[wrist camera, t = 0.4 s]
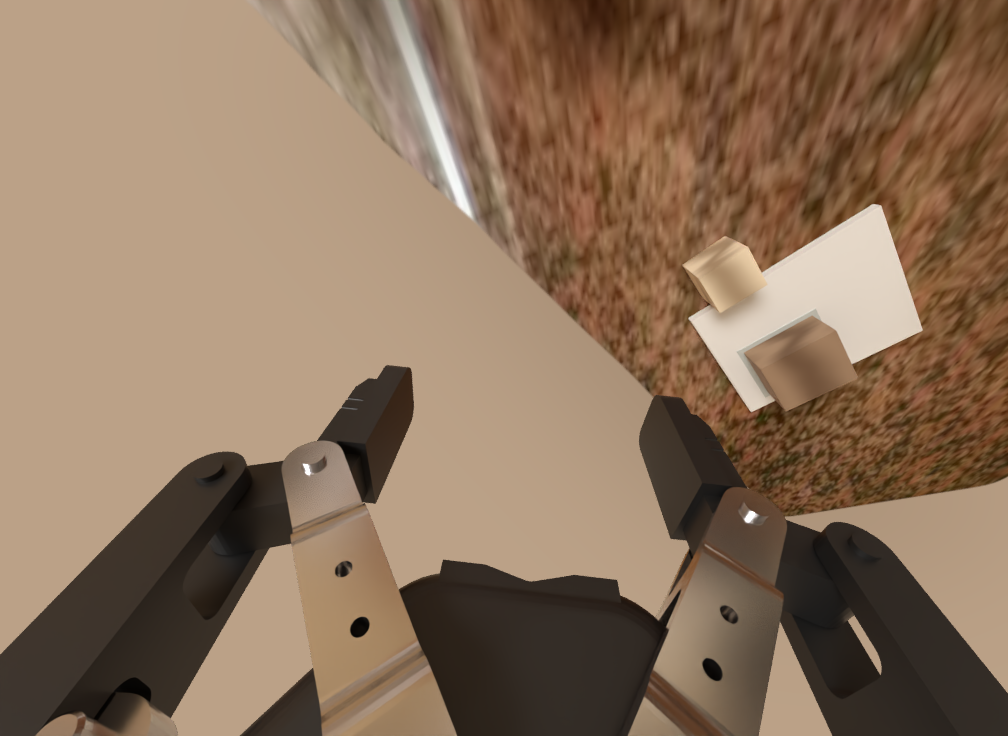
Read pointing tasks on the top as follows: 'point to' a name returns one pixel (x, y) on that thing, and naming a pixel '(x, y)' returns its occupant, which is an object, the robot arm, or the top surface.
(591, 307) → the top surface
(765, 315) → the plate
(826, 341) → the walnut base
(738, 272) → the maple cube
